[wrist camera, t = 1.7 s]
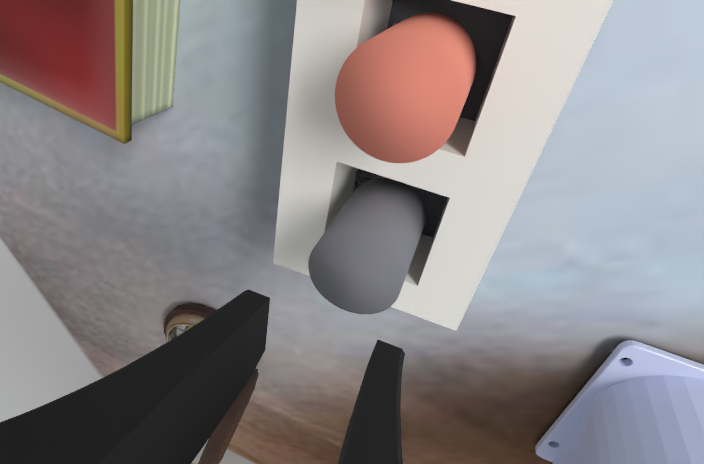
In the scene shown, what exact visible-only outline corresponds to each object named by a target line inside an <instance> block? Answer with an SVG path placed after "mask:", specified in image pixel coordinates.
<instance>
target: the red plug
mask: <svg viewBox="0 0 704 464" xmlns="http://www.w3.org/2000/svg"><path fill="white" fill-rule="evenodd" d="M476 67H477V58H476V51H475V47H474V44H473V42H472V40H471V38H470V36H469V34H468V33H467V31H466V30H465V29H464V28H463V27H462V26H461V25H460V24H459V23H458V22H456V21H455V20H454V19H452V18H450V17H448V16H445V15H442V14H438V13H420V14H416V15H413V16H410V17H408V18H406V19H404V20H403V21H401V22H399V23H397V24H395V25H394V26H392V27H390V28H388V29H387V30H385V31H383V32H381V33H380V34H378V35H376V36H374V37H373V38H371V39H369V40H367V41H366V42H364V43H362V44H361V45H360V46H358V47H357V48H356V49H355V50H354V51H353V52H352V53H351V54H350V55H349V56H348V58H347V59H346V60H345V62H344V64H343V66H342V67H341V69H340V72H339V75H338V77H337V82H336V86H335V105H336V111H337V115H338V118H339V121H340V123H341V126H342V127H343V129H344V131H345V133H346V134H347V136H348V137H349V138H350V140H351V141H352V142H353V143H354V144H355V145H356V146H357V147H358V148H359V149H361V150H362V151H363V152H365V153H366V154H368V155H370V156H372V157H374V158H376V159H379V160H381V161H385V162H389V163H410V162H415V161H419V160H421V159H424V158H426V157H428V156H430V155H431V154H433V153H434V152H436V151H437V150H438V149H440V148H441V147H442V146H443V145H444V144H445V143H446V141H447V140H448V139H449V137H450V136H451V134H452V132H453V131H454V129H455V126H456V124H457V122H458V119H459V116H460V114H461V111H462V109H463V106H464V104H465V101H466V99H467V96H468V94H469V91H470V89H471V86H472V84H473V81H474V78H475V74H476Z"/></svg>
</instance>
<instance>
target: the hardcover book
mask: <svg viewBox="0 0 704 464" xmlns="http://www.w3.org/2000/svg"><path fill="white" fill-rule="evenodd" d="M179 9H180V0H0V82H1V83H3V84H5V85H7V86H9V87H11V88H13V89H15V90H17V91H19V92H21V93H23V94H25V95H27V96H29V97H31V98H33V99H35V100H37V101H39V102H41V103H43V104H45V105H47V106H49V107H51V108H53V109H55V110H57V111H59V112H61V113H63V114H65V115H68V116H70V117H72V118H74V119H76V120H78V121H80V122H82V123H84V124H86V125H88V126H90V127H92V128H94V129H96V130H98V131H100V132H102V133H104V134H106V135H108V136H110V137H112V138H114V139H116V140H118V141H120V142H122V143H124V144H125V143H127V142H129V141H131V131H132V124H134V123H136V122H138V121H141V120H143V119H145V118H147V117H150V116H152V115H154V114H157V113H159V112H161V111H163V110H166V109H168V108H170V107H172V106H173V92H174V78H175V64H176V51H177V37H178V23H179Z"/></svg>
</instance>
